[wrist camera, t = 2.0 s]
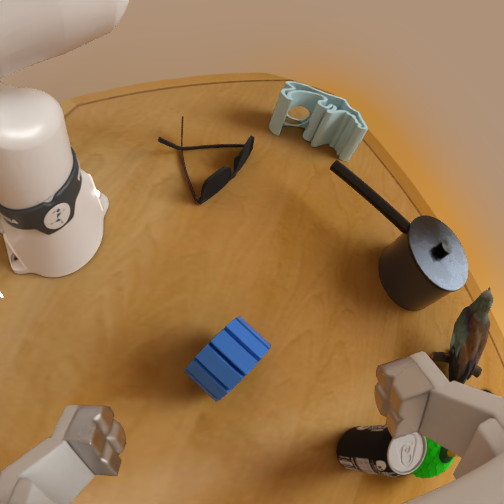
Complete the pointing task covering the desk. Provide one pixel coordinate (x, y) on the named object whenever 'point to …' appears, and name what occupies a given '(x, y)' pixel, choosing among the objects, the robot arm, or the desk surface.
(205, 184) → the sunglasses
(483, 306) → the bird figurine
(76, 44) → the robot arm
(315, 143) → the squiggly pen holder
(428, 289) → the saucepan
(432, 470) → the ornament
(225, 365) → the gear wheel
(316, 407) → the desk surface
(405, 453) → the beverage can
